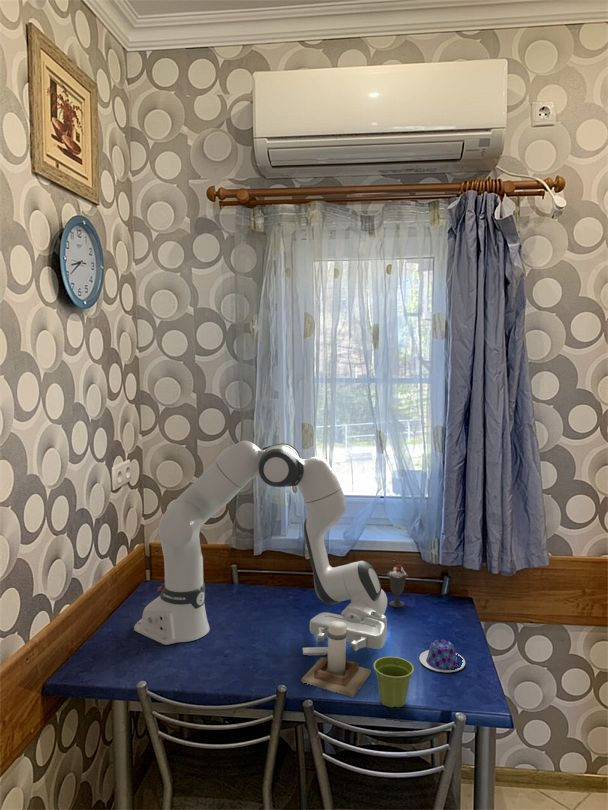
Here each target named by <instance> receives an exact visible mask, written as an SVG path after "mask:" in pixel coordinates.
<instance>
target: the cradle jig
mask: <svg viewBox="0 0 608 810" xmlns="http://www.w3.org/2000/svg"><path fill="white" fill-rule="evenodd" d="M371 670H372V669H369V668H366V667H362V666H359V662H356V661H353V660H348V659H346V662H345V675H344V676H341V675H337V674H334V673H330V672H328V655H326V657H323V656H321V657H320V658H319V659H318V660H317V661H316V662H315V664H314V665H313V666H312V667H310V669H309V670H307V672H306V673H305V674H304V676H303V677H302V678H301V680H300V681H301V682H303V683H302V684H304V683H307V684H306V685H308V684H310V685H309V686H311V685H314V686H313V687H315V686H317V687H316V688H318V687H320V689H322V688H323V690H326V689H327V690H326V691H329V690H330V692H334V693H336V692H337V694H340V695H345V696H348V697H351V698H354V697H355V695H356V694H357V693H358V691H359V690H360V689H361V687H362V686H363V685H364V683H365V682H366V680H367V679H368V677H369V676H370V675H371V673H372V671H371ZM301 682H300V683H301Z"/></svg>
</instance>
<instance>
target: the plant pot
mask: <svg viewBox="0 0 608 810" xmlns="http://www.w3.org/2000/svg"><path fill="white" fill-rule="evenodd" d="M373 669H374V671H375V675H376V677H377V679H376V680H377V684H378V685H377V687H378V693H379V694H378V695H379V701H380V703H381V704H382V705H384V706H386V707H387V708H388V707H389V708H394V707H396V708H401V707H403V706H405V704H406V702H407V695H408V690H409V684H410V680H411V677H412V674H413V673H414V670H415V667H414V665H413V664H412V662H410V661H408V660H407V659H404V658H402V657H398V656H383V657H379V658H378V659H376V660H375V661H374V662H373Z"/></svg>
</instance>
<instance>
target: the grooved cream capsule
mask: <svg viewBox="0 0 608 810" xmlns="http://www.w3.org/2000/svg"><path fill="white" fill-rule="evenodd" d="M327 639H328V640H327V647H328V655H327V656H328V672H330V673H334V674H337V675H341V676H344V675H345V662H346V660H347V659H346V658H347V657H346V656H347V654H346V652H347V651H346V650H347V642H346V624H345V623H344V622H340V621H333V622H330V623H329V628H328V638H327Z"/></svg>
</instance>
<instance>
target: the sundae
mask: <svg viewBox="0 0 608 810" xmlns="http://www.w3.org/2000/svg"><path fill="white" fill-rule="evenodd" d="M400 563H401V562H400V561H399V562H398V563H397V564H396V565H395V566H394V567H393V569H392V570H389V571H388V572H387V573H386V576H387V577H388V579H389V584H390V590H391V592H392V593H393V594H394V596H395V597H394V600H391V601H389V606H390V607H393V608H403V607H405V602H403V601H401V600H400V595H401V594H402V593H403V592H404V589H405V583H406V580H407V578H408V577H409V575H408V573H407V572H406V570H404V568H403V566H402V564H400Z"/></svg>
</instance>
